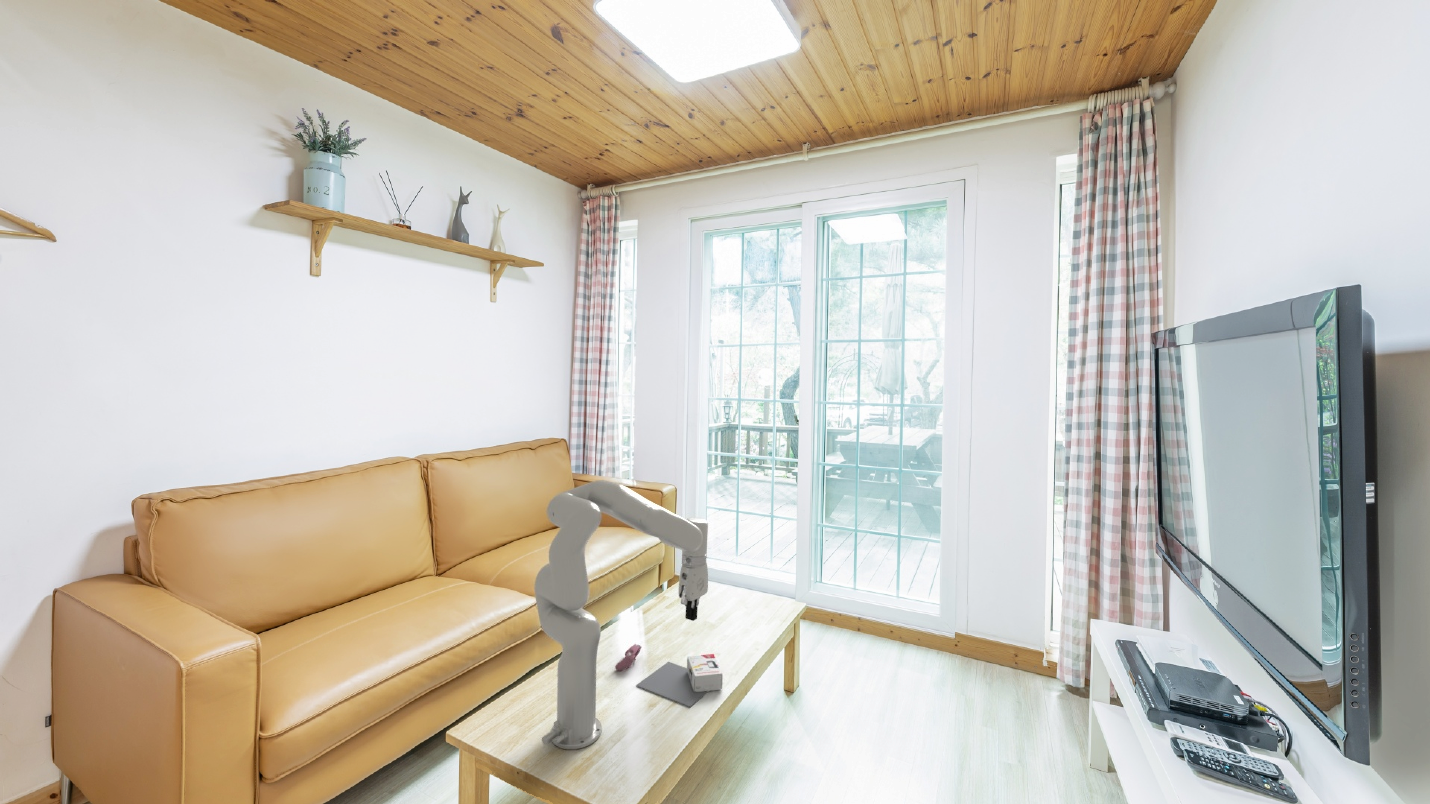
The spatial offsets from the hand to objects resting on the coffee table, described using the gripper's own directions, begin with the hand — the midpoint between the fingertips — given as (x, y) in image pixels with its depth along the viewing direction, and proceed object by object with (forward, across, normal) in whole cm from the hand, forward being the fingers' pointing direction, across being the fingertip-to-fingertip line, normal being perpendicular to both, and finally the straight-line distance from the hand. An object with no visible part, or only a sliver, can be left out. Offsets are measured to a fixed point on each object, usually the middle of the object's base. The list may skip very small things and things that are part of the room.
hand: (691, 618), depth 169 cm
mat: (+18, -6, 0) cm, 18 cm away
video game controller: (+18, -5, +19) cm, 27 cm away
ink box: (+14, +4, -2) cm, 15 cm away
